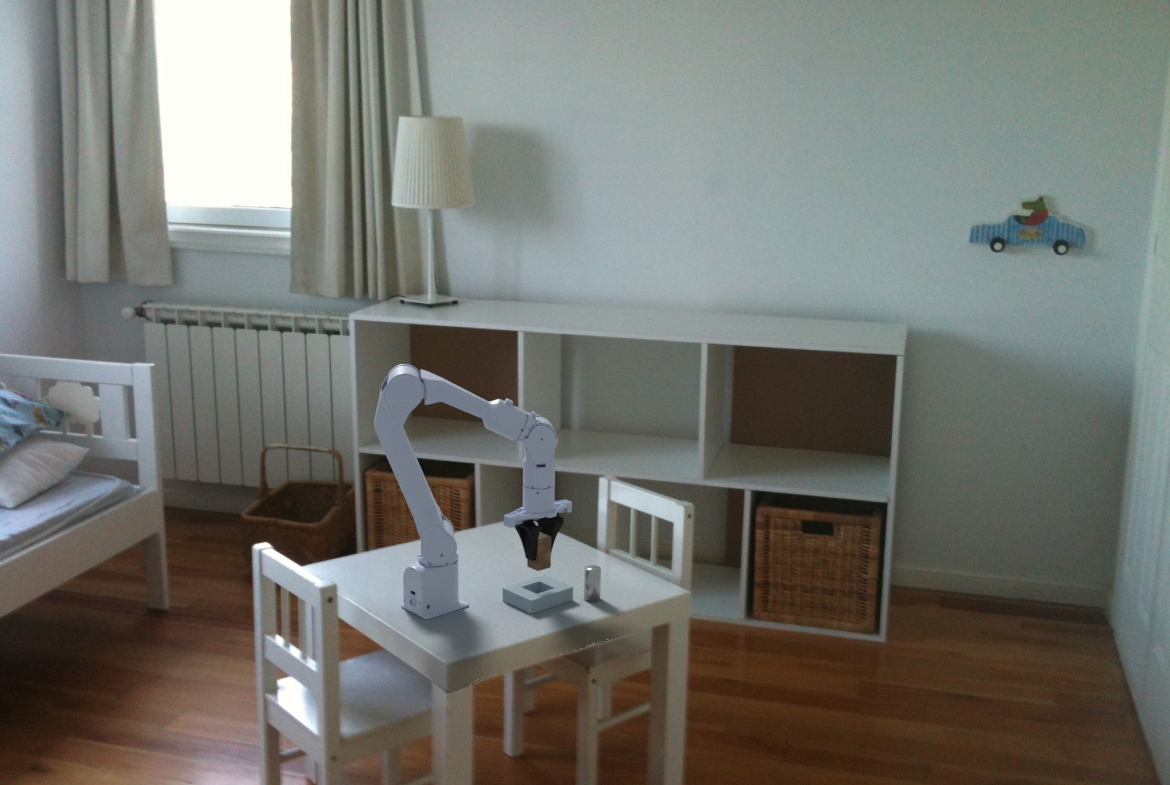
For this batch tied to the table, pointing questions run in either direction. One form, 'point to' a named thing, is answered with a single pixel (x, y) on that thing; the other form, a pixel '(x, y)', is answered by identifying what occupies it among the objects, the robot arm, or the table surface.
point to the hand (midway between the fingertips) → (538, 556)
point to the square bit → (542, 553)
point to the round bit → (592, 583)
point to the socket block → (537, 594)
